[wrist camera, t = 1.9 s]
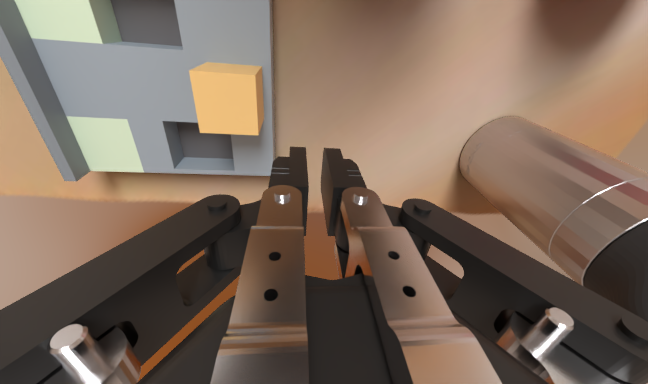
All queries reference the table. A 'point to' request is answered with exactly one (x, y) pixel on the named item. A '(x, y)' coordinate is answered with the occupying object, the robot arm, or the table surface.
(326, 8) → the table surface
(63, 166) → the board
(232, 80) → the block
